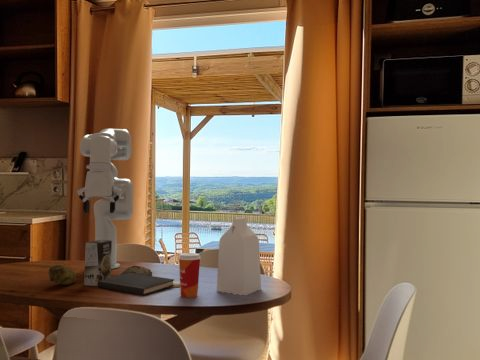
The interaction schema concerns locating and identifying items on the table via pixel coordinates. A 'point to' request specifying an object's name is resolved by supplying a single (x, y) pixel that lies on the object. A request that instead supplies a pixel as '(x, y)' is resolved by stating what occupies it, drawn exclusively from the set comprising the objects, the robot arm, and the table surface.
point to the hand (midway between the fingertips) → (99, 212)
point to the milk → (239, 260)
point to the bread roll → (137, 270)
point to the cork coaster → (176, 285)
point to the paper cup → (189, 274)
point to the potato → (61, 274)
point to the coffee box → (97, 261)
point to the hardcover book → (136, 283)
